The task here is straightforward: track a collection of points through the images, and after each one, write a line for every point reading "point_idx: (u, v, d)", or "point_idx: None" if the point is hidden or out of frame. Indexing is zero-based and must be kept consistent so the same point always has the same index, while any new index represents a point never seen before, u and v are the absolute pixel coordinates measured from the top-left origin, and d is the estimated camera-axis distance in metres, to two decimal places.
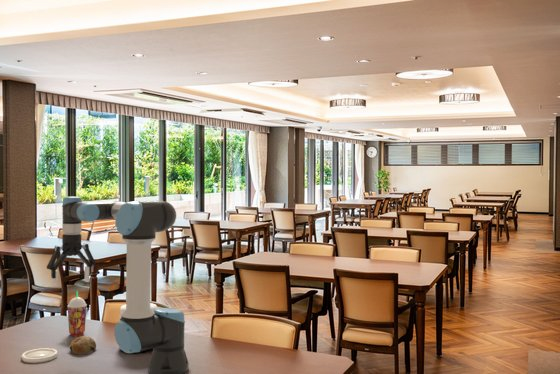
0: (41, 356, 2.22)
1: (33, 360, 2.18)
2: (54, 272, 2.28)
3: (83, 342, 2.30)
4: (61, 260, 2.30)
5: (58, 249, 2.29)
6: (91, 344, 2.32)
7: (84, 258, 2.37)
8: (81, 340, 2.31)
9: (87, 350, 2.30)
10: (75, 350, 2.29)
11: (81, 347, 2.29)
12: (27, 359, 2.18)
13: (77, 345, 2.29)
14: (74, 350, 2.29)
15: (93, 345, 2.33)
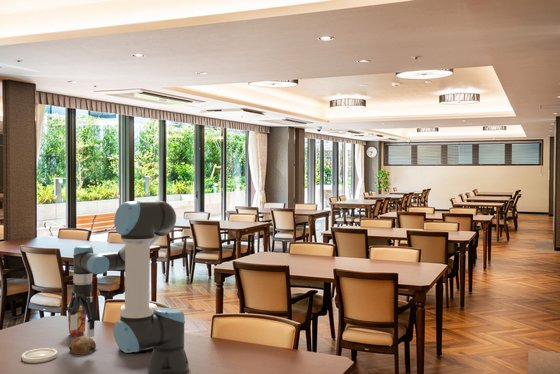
0: (41, 356, 2.22)
1: (33, 360, 2.18)
2: None
3: (83, 342, 2.30)
4: (73, 306, 2.36)
5: (72, 295, 2.36)
6: (91, 344, 2.32)
7: (86, 311, 2.29)
8: (81, 340, 2.31)
9: (87, 350, 2.30)
10: (75, 350, 2.29)
11: (81, 347, 2.29)
12: (27, 359, 2.18)
13: (76, 345, 2.29)
14: (74, 350, 2.29)
15: (93, 345, 2.33)
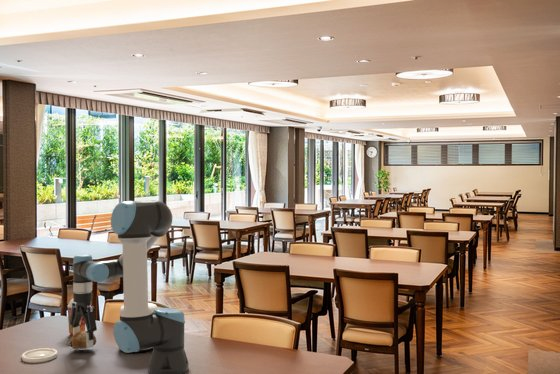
0: (41, 356, 2.22)
1: (33, 360, 2.18)
2: None
3: (83, 337, 2.29)
4: (75, 317, 2.35)
5: (72, 305, 2.36)
6: None
7: (85, 321, 2.29)
8: (81, 335, 2.30)
9: None
10: (75, 345, 2.28)
11: (81, 341, 2.28)
12: (27, 359, 2.18)
13: (77, 340, 2.28)
14: (74, 345, 2.28)
15: (93, 340, 2.32)
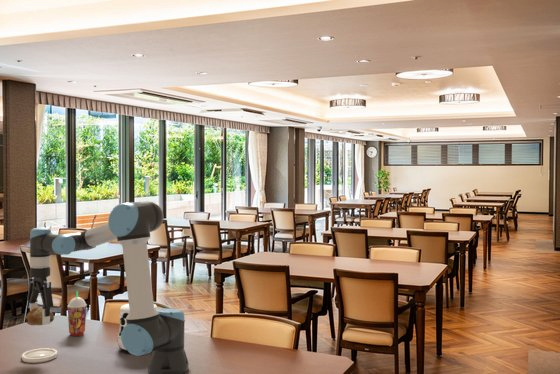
0: (41, 356, 2.22)
1: (33, 360, 2.18)
2: None
3: (39, 313, 2.20)
4: (32, 293, 2.26)
5: (30, 281, 2.27)
6: None
7: (41, 297, 2.20)
8: (37, 311, 2.21)
9: None
10: (31, 321, 2.19)
11: (37, 317, 2.19)
12: (27, 359, 2.18)
13: (32, 316, 2.19)
14: (30, 321, 2.19)
15: (50, 316, 2.23)
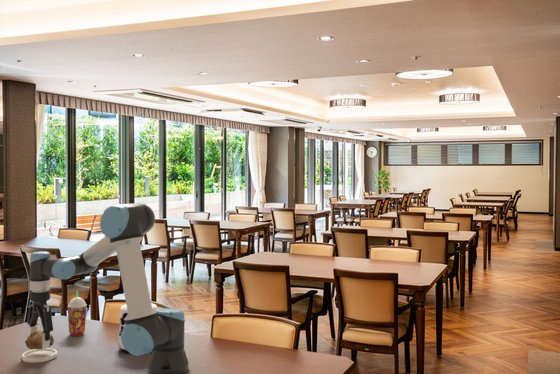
0: (41, 356, 2.22)
1: (33, 360, 2.18)
2: None
3: (39, 337, 2.21)
4: (32, 316, 2.26)
5: (30, 304, 2.27)
6: None
7: (41, 321, 2.20)
8: (37, 335, 2.21)
9: None
10: (30, 345, 2.19)
11: (37, 342, 2.19)
12: (27, 359, 2.18)
13: (32, 340, 2.20)
14: (29, 345, 2.20)
15: (50, 340, 2.24)
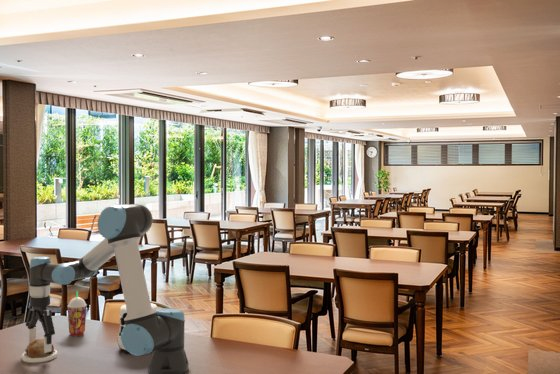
0: None
1: (33, 360, 2.18)
2: None
3: (39, 346, 2.21)
4: (31, 320, 2.26)
5: (29, 308, 2.27)
6: None
7: (42, 325, 2.20)
8: (37, 343, 2.21)
9: (43, 354, 2.21)
10: (31, 354, 2.19)
11: (37, 350, 2.20)
12: (27, 359, 2.18)
13: (32, 349, 2.20)
14: (30, 354, 2.20)
15: None
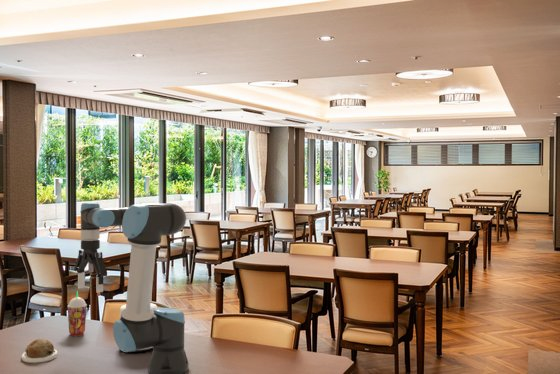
0: None
1: (33, 360, 2.18)
2: None
3: (39, 346, 2.21)
4: (81, 264, 2.36)
5: (79, 253, 2.37)
6: (48, 347, 2.23)
7: (94, 267, 2.30)
8: (37, 343, 2.21)
9: (43, 354, 2.21)
10: (31, 354, 2.19)
11: (37, 350, 2.20)
12: (27, 359, 2.18)
13: (32, 349, 2.20)
14: (30, 354, 2.20)
15: (50, 348, 2.24)
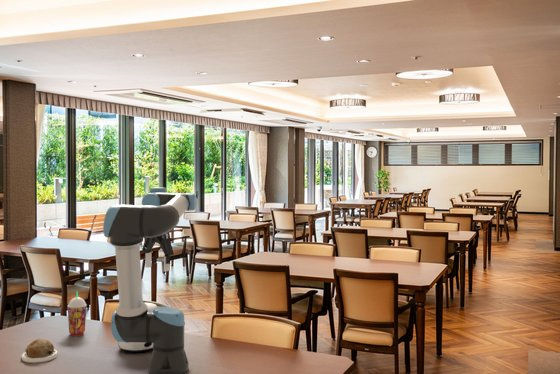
0: None
1: (33, 360, 2.18)
2: (146, 254, 2.54)
3: (39, 346, 2.21)
4: (148, 244, 2.52)
5: None
6: (48, 347, 2.23)
7: (162, 247, 2.45)
8: (37, 343, 2.21)
9: (43, 354, 2.21)
10: (31, 354, 2.19)
11: (37, 350, 2.20)
12: (27, 359, 2.18)
13: (32, 349, 2.20)
14: (30, 354, 2.20)
15: (50, 348, 2.24)
